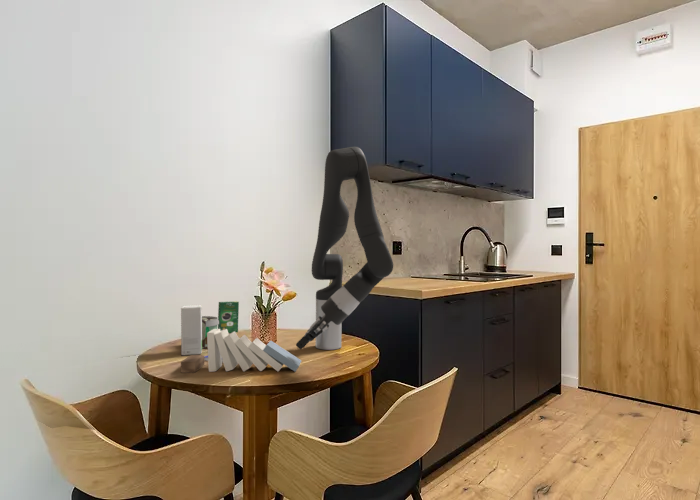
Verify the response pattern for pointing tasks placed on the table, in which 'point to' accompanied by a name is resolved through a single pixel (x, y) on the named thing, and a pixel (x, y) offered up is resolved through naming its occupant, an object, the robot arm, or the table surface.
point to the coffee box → (228, 316)
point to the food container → (208, 328)
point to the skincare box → (191, 330)
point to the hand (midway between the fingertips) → (298, 346)
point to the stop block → (192, 363)
